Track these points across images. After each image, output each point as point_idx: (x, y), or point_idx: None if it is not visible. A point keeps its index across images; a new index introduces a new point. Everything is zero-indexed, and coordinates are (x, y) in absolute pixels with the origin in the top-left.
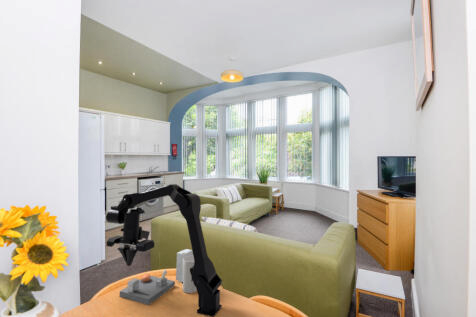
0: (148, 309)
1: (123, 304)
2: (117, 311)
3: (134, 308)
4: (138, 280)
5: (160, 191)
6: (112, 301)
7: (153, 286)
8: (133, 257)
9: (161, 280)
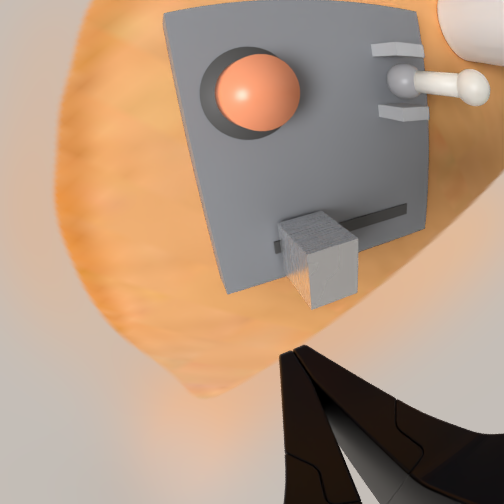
0: (421, 233)
1: None
2: (329, 319)
3: (373, 266)
4: (355, 243)
5: None
6: (235, 313)
7: (365, 123)
8: (388, 404)
9: (419, 93)
